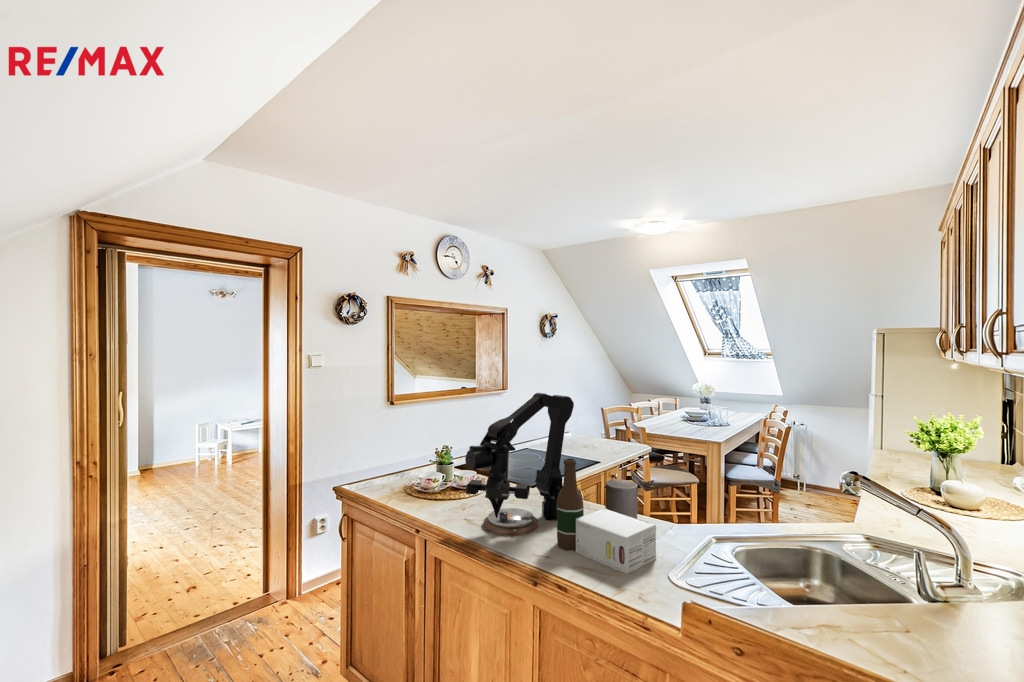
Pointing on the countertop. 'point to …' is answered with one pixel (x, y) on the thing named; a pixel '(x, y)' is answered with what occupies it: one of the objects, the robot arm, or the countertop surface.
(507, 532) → the stand
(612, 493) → the pillar candle
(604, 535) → the supplement box
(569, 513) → the beer bottle
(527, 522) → the dial
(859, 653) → the countertop surface
